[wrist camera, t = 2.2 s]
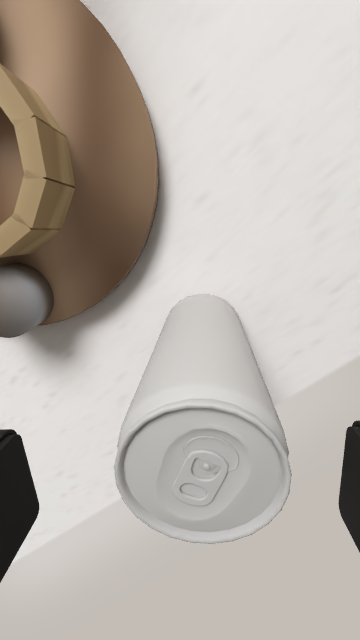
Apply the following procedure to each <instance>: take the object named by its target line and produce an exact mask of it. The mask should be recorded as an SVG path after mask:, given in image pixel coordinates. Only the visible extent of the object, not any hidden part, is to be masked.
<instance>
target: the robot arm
mask: <svg viewBox="0 0 360 640" xmlns="http://www.w3.org/2000/svg"><path fill="white" fill-rule="evenodd" d="M339 509H340V513H341V516H342V519H343V521H344V523H345V524H346V526H347V528H348V530H349V532H350V534H351V536H352V538H353V540H354V542H355V544H356V546H357V548H358V550H359V552H360V421H355V422H354V423H353V425H352V427H348V428H347V432H346V440H345V449H344V459H343V467H342V476H341V486H340V495H339ZM38 512H39V502H38V498H37V494H36V490H35V487H34V483H33V479H32V476H31V472H30V468H29V464H28V461H27V457H26V453H25V449H24V446H23V442H22V438H21V436H20V435H17V433H16V432H15V431H14V430H12V429H8V430H0V582H1V580H2V579H3V577H4V575H5V573H6V572H7V570H8V568H9V566H10V564H11V563H12V561H13V559H14V557H15V556H16V554H17V552H18V550H19V548H20V547H21V545H22V543H23V541H24V540H25V538H26V536H27V534H28V533H29V531H30V529H31V527H32V525H33V524H34V522H35V520H36V518H37V516H38Z"/></svg>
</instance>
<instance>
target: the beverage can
mask: <svg viewBox="0 0 360 640" xmlns="http://www.w3.org/2000/svg"><path fill="white" fill-rule="evenodd" d="M117 447H118V451H117V456H116V461H115V465H114V469H115V478H116V485H117V487H118V490H119V492H120V494H121V496H122V499H123V501H124V502H125V504H126V505H127V506H128V507H129V509H130V510H131V511H132V512H133V513H134V515H135V516H136V517H137V518H139V519H140V520H142V521H143V522H144V523H145V524H147V525H148V526H149V527H151V528H152V529H154V530H156V531H158V532H160V533H163V534H164V535H167V536H169V537H171V538H175V539H179V540H183V541H187V542H192V543H208V544H213V543H221V542H229V541H234V540H237V539H240V538H243V537H245V536H249V535H251V534H253V533H255V532H256V531H258V530H259V529H261V528H263V527H264V526H266V525H267V524H269V522H270V521H272V519H273V518H274V517H275V516H276V515H277V514H278V513H279V512H280V511H281V510H282V507H283V505H284V503H285V501H286V499H287V497H288V495H289V491H290V483H291V470H290V466H289V461H288V454H289V452H288V447H287V443H286V439H285V434H284V431H283V428H282V425H281V423H280V420H279V418H278V415H277V413H276V410H275V408H274V405H273V403H272V400H271V397H270V395H269V392H268V390H267V387H266V385H265V382H264V380H263V377H262V375H261V372H260V370H259V367H258V364H257V362H256V359H255V357H254V354H253V352H252V349H251V347H250V344H249V342H248V339H247V337H246V334H245V331H244V329H243V326H242V324H241V321H240V319H239V316H238V315H237V313H236V311H235V310H234V308H233V307H232V306H231V305H230V304H229V303H228V302H227V301H225V300H223V299H221V298H220V297H218V296H214V295H210V294H196V295H192V296H188V297H186V298H184V299H183V300H181V301H179V302H178V303H177V304H176V305H175V306H174V307H173V308H172V309H171V311H170V313H169V315H168V317H167V319H166V322H165V324H164V327H163V329H162V331H161V334H160V336H159V339H158V341H157V343H156V346H155V348H154V351H153V353H152V355H151V358H150V360H149V362H148V365H147V367H146V369H145V372H144V374H143V376H142V379H141V381H140V383H139V386H138V388H137V391H136V393H135V395H134V398H133V400H132V402H131V405H130V407H129V410H128V412H127V414H126V417H125V419H124V421H123V424H122V427H121V431H120V436H119V441H118V446H117Z"/></svg>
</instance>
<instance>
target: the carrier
mask: <svg viewBox="0 0 360 640" xmlns="http://www.w3.org/2000/svg"><path fill="white" fill-rule="evenodd" d="M158 186H159V173H158V155H157V148H156V141H155V135H154V131H153V127H152V124H151V120H150V116H149V112H148V109H147V107H146V104H145V102H144V99H143V97H142V94H141V91H140V89H139V86H138V84H137V82H136V80H135V78H134V76H133V74H132V72H131V70H130V68H129V66H128V64H127V62H126V60H125V59H124V57H123V55H122V53H121V51H120V49H119V48H118V47H117V45H116V44H115V42H114V41H113V39H112V38H111V36H110V35H109V33H108V32H107V31H106V29H105V28H104V26H103V25H102V24H101V23H100V22H99V21H98V20H97V18H96V17H95V16H94V15H93V14H92V13H91V12H90V11H89V9H88V8H87V7H86V6H85V5H84V4H83V3H82V2H80V1H79V0H0V337H5V338H11V337H17V336H20V335H22V334H24V333H25V332H27V331H29V330H31V329H32V328H34V327H36V326H38V325H47V324H51V323H55V322H59V321H63V320H65V319H68V318H70V317H73V316H75V315H78V314H80V313H82V312H83V311H85V310H87V309H88V308H90V307H92V306H93V305H95V304H96V303H98V302H99V301H101V300H102V299H103V298H105V297H106V296H107V295H108V294H109V293H111V292H112V291H113V290H114V289H115V288H116V287H117V286H118V285H119V284H120V283H121V282H122V281H123V280H124V279H125V278H126V276H127V275H128V274H129V272H130V271H131V269H132V268H133V266H134V265H135V264H136V262H137V260H138V258H139V256H140V254H141V252H142V250H143V249H144V247H145V245H146V242H147V239H148V236H149V233H150V231H151V228H152V224H153V220H154V215H155V211H156V206H157V197H158Z"/></svg>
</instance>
